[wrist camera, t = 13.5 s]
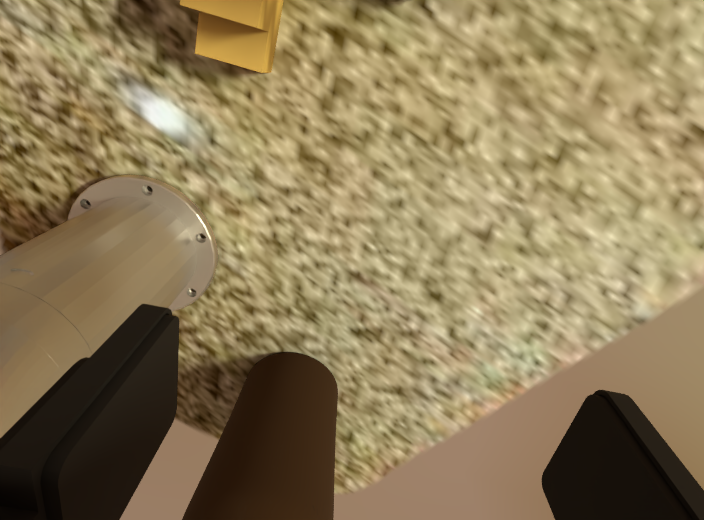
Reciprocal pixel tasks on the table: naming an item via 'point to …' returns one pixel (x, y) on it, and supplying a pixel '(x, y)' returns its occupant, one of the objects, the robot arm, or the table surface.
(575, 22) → the table surface
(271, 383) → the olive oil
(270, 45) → the orange block
